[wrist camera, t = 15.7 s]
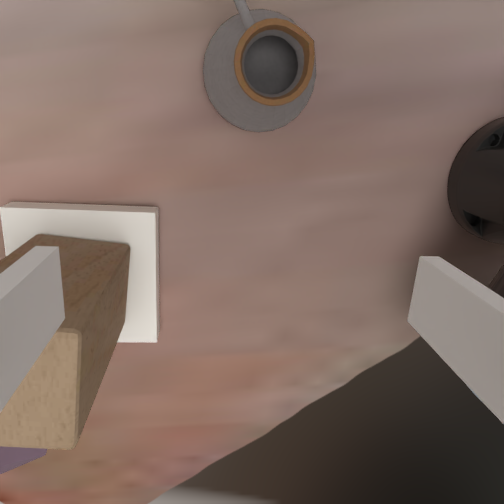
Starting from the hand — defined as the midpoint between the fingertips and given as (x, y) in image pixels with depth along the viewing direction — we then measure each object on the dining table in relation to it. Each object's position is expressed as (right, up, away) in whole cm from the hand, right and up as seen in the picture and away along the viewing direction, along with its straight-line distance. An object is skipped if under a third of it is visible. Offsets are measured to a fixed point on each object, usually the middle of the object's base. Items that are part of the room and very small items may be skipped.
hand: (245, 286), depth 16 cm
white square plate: (-19, -1, +35) cm, 40 cm away
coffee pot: (-2, +24, +29) cm, 38 cm away
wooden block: (-19, -2, +32) cm, 38 cm away
